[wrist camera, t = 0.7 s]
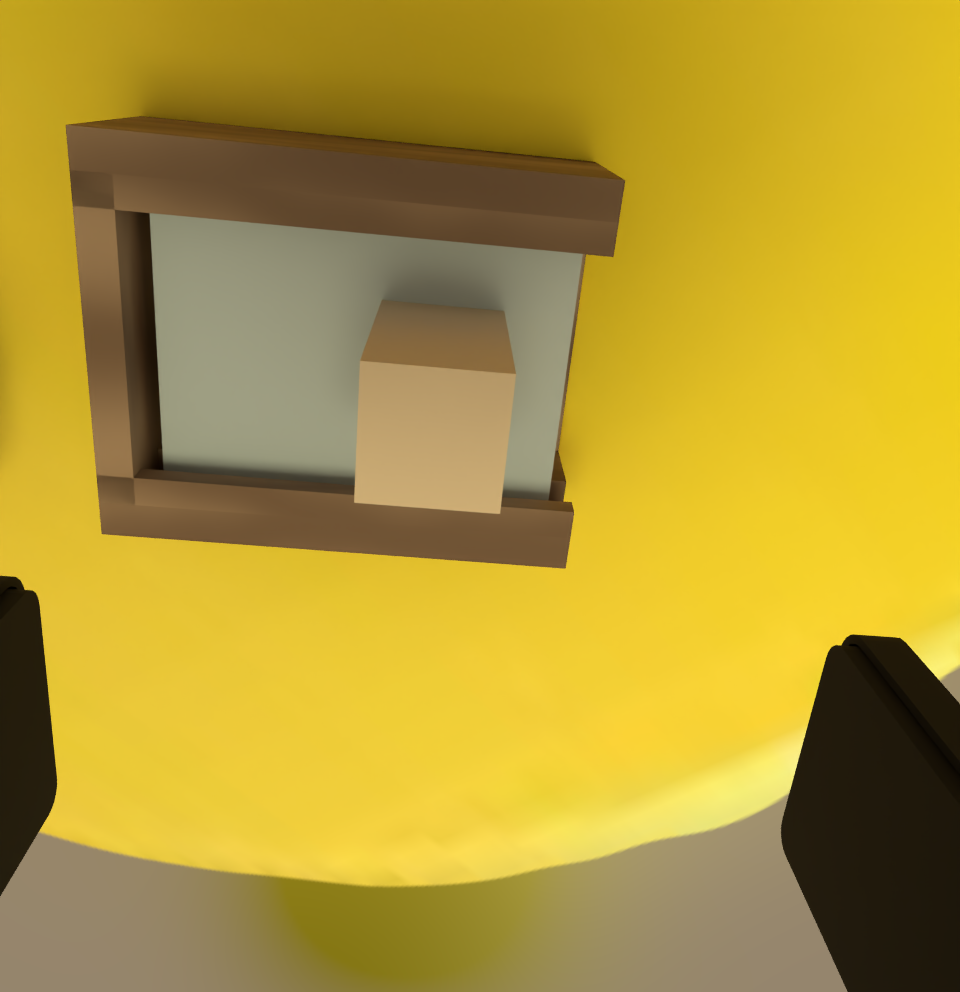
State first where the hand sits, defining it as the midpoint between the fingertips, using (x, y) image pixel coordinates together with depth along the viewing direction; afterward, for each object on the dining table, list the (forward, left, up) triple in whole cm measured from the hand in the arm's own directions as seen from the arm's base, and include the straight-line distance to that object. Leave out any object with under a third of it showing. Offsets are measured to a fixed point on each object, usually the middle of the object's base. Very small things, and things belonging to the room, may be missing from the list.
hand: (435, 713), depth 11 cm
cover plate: (+2, -3, -22) cm, 22 cm away
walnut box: (+2, -3, -26) cm, 26 cm away
